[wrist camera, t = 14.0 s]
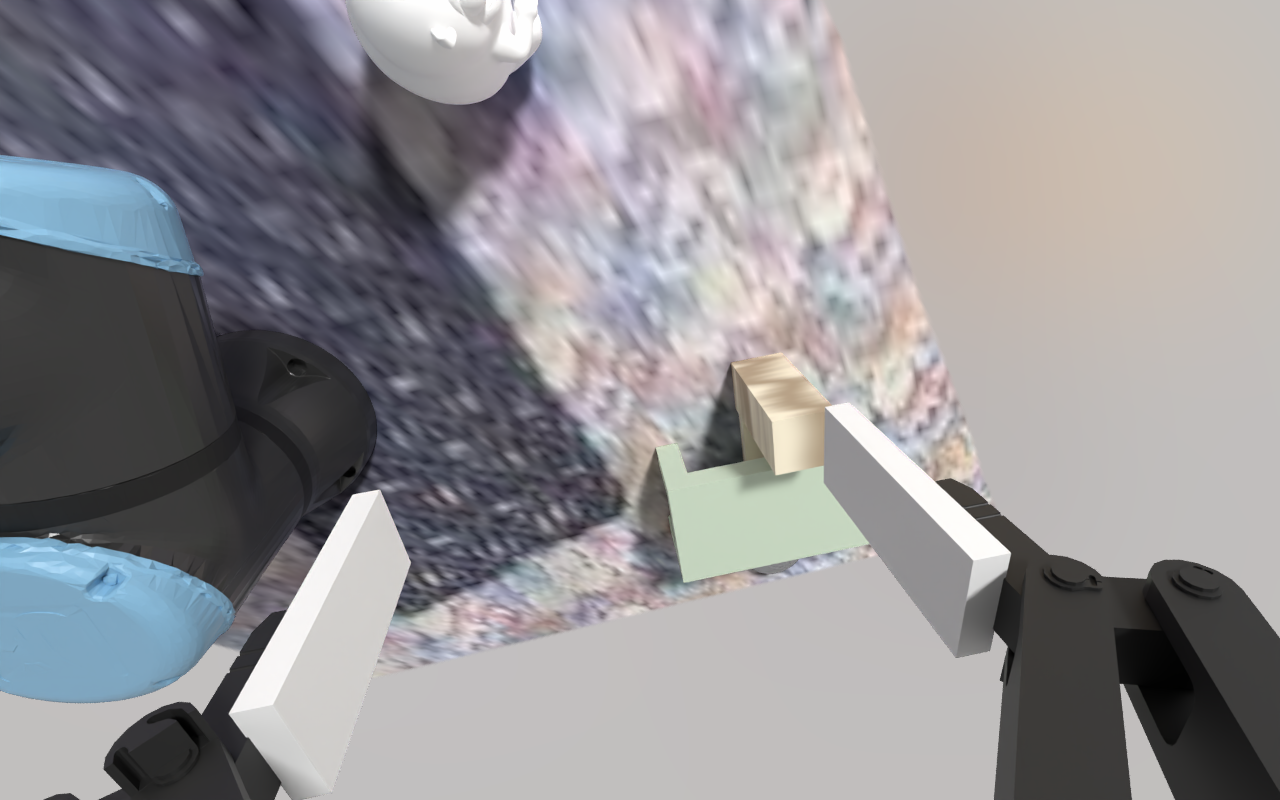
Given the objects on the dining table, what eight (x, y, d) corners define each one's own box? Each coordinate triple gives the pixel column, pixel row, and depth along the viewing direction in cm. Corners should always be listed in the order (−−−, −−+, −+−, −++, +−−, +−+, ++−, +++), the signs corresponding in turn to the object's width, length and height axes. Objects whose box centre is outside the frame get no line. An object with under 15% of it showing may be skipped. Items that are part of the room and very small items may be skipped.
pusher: (747, 525, 56) (784, 608, 46) (730, 362, 48) (771, 421, 38) (790, 516, 56) (837, 597, 46) (781, 352, 48) (835, 408, 38)
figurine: (455, 143, 39) (410, 148, 28) (337, 9, 35) (232, -47, 24) (563, 40, 37) (559, 2, 26) (451, -115, 33) (392, -235, 22)
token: (744, 568, 59) (748, 578, 58) (739, 524, 56) (743, 533, 55) (799, 557, 59) (804, 567, 58) (797, 512, 57) (802, 522, 55)
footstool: (671, 531, 55) (683, 582, 49) (655, 447, 51) (667, 491, 45) (846, 495, 56) (880, 541, 50) (846, 408, 51) (884, 447, 45)
